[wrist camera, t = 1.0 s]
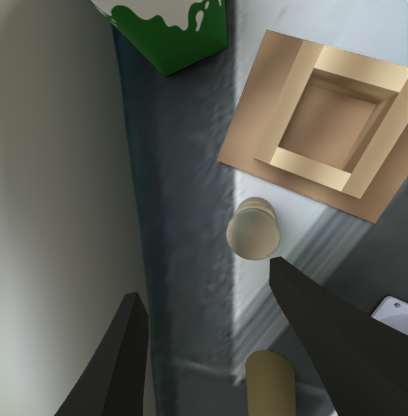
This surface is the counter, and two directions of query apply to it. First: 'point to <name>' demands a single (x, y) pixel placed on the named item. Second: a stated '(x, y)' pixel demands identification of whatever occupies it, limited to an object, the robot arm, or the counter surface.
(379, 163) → the socket board
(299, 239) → the counter surface
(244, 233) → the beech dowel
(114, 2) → the milk carton
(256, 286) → the counter surface
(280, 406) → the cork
